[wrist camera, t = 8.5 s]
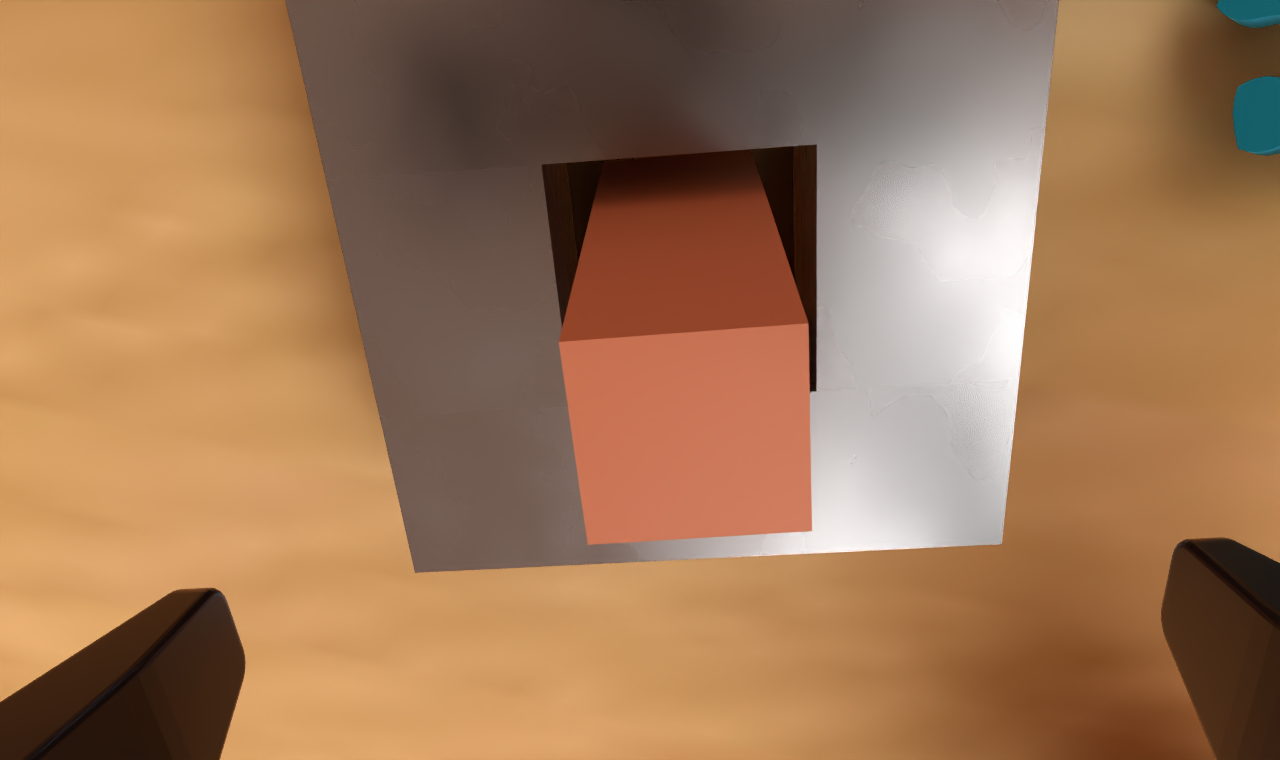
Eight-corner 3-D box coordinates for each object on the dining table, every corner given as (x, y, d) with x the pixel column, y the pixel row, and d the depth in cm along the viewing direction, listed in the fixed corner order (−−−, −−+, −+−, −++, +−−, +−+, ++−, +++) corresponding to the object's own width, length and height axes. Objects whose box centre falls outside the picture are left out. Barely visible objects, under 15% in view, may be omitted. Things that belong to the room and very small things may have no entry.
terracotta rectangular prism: (756, 287, 21) (811, 531, 13) (618, 297, 21) (587, 544, 13) (750, 148, 20) (808, 322, 11) (603, 161, 20) (558, 341, 12)
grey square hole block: (955, 454, 23) (1001, 544, 19) (449, 482, 23) (415, 572, 20) (998, -123, 17) (1072, -128, 14) (341, -65, 18) (272, -58, 15)
